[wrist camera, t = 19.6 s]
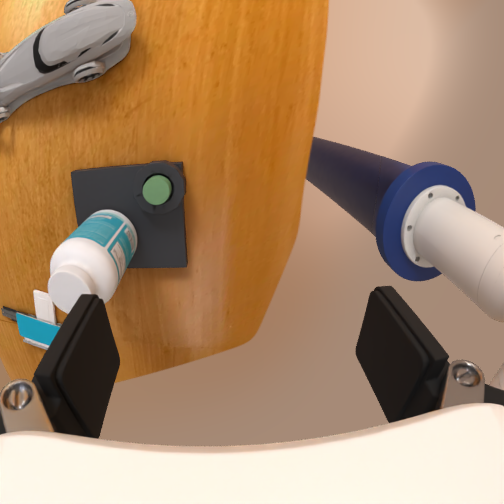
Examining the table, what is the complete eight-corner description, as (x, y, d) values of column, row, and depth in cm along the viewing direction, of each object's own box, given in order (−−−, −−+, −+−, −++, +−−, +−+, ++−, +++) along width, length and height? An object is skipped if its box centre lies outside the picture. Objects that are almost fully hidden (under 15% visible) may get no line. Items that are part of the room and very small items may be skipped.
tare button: (171, 174, 33) (168, 177, 31) (172, 200, 34) (170, 204, 32) (144, 175, 32) (141, 178, 31) (146, 201, 34) (143, 205, 32)
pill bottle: (75, 236, 35) (24, 290, 23) (107, 195, 34) (56, 238, 22) (116, 273, 38) (81, 339, 26) (151, 236, 37) (121, 297, 24)
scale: (186, 157, 35) (183, 161, 32) (191, 262, 40) (189, 273, 37) (75, 166, 33) (64, 171, 30) (89, 263, 39) (81, 274, 36)
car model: (-15, 63, 24) (-35, 62, 20) (136, -15, 24) (126, -30, 20) (-6, 130, 29) (-27, 135, 24) (149, 59, 29) (138, 51, 25)
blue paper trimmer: (100, 307, 42) (97, 314, 40) (102, 362, 46) (99, 368, 45) (-2, 276, 38) (-7, 281, 36) (8, 331, 42) (4, 337, 41)
